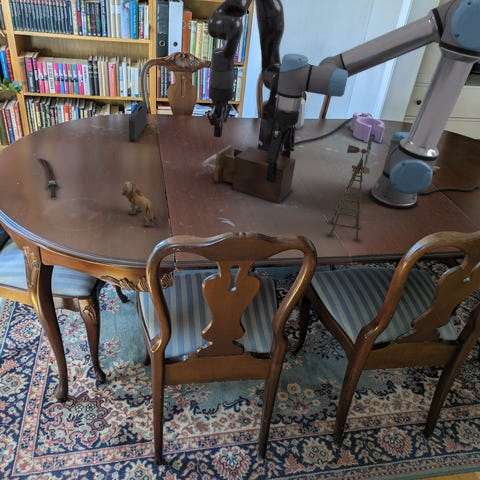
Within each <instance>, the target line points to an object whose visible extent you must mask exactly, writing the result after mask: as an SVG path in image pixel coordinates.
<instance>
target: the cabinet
mask: <svg viewBox="0 0 480 480" xmlns="http://www.w3.org/2000/svg"><path fill="white" fill-rule="evenodd" d="M267 155H268V152H267V151H263V150H260V149H257V148H256V147H252V146H248V148H245V149H244V151H243V152H241V153H240V154H238V155H237V156H236V157H235V166H234V177H233V183H232V187H231V188H232V190H234V191H237V192H241V193H244V194H247V195H250V196H254V197H257V198H259V199H263V200H267V201H270V202H273V203H276V204H280V203H281V201H282V200H283V199H284V198H286V196H287V195H288V194H289V193H290V192H291V190H292V185H293V178H294V173H295V167H296V158H293V157H290V158H289V157H286V156H282V154H280V155H279V157H278V160H277V163H278V164H277V171H276V178H275V182H274V183H272V182H269V181H266V178H267V171H268V164H269V163H267V162H266V159H267Z"/></svg>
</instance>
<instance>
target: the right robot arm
mask: <svg viewBox="0 0 480 480" xmlns="http://www.w3.org/2000/svg"><path fill="white" fill-rule="evenodd" d="M433 43H435V44H438V45H437V47H438V49H439V52H440V56H439V58H438V61H437V63H436V66H435V68H434V71H433V73H432V75H431V77H430V81H429V82H428V86H427V87H426V91H425V93H424V95H423V98H422V101H421V103H420V105H419V108H418V111H417V112H416V115H415V117H414V120H413V122H412V125H411V127H410V130H409V132H408V131H396V132H395V133H393V135H392V136H391V140H390V144H389V147H388V151H387V155H386V158H385V161H384V165H383V168H382V173H381V175H380V176H379V177H378V179H377V181H376V182H375V183H374V185H373V186H372V188H371V191H370V196H371V198H372V199H373V200H374V201H376V202H377V203H379V204H380V205H383V206H386V207H389V208H394V209H398V210H399V209H400V210H403V209H404V210H405V209H410V208H413V207H415V205H416V203H417V200H418V194H420V195H429V194H432V193H434V192H438V191H439V192H440V191H448V190H449V191H450V190H451V191H457V192H458V191H459V192H472V191H474V190H475V189H477V190H478V189H480V187H479V185H478V184H475V185H473V186H471V187H470V188H468V189H470V190H464V189H465V188H464V187H463V188H462V187H454V186H442V187H435V188H432V189H430V190H429V189H428V190H426V189H427V188H428V187H429V186H430V184H431V183H432V180H433V175H434V173H433V172H432V169H433V166H435V165H436V162H437V159H438V157H439V156H440V151H439V150H438V145H439V142H440V139H441V137H442V134H443V133H444V130H445V128H446V126H447V125H448V122H449V119H450V117H451V115H452V113H453V111H454V108H455V106H456V105H457V102H458V100H459V98H460V95H461V93H462V90H463V88H464V86H465V84H466V82H467V79H468V77H469V75H470V72H471V70H472V68H473V65H474V64H475V63H476V62H479V61H480V0H448V1H446V2H444V3H443V4H440V5H438V6H435V7H434V8H431V9H429V11H428V13H427V14H426V15H425V16H423V17H420V18H418V19H416V20H414V21H411V22H409V23H406V24H405V25H402V26H400V27H397V28H395V29H393V30H391V31H388V32H386V33H384V34H382V35H378V36H377V37H374V38H371V39H370V40H368V41H365V42H363V43H361V44H358V45H356V46H354V47H352V48H349V49H347V50H344V51H343V52H340V53H338V54H336V55H333V56H327V57H325V58H323V59H322V60H321V61H320V62H319V63H318V65H315V64H309V58H308V57H307V56H306V55H303V54H300V53H286V54H284V55H283V56H282V58H281V68H280V74H279V82H278V91H277V95H276V96H275V98H277V99H276V108H275V112H274V121H275V122H277V123H278V127H277V128H276V131H275V130H273V132H272V139H271V143H270V147H269V151H268V155H267V159H266V162H267V163H269V164H268V171H267V178H266V181H269V182H272V183H274V182H275V178H276V171H277V164H278V163H277V160H278V157H279V154H280V151H281V148H282V145H283V150H282V154H280V155H282V156H286V157H289V158H291V154H292V152H294V151H295V148H294V147H295V145H294V143H296V142H295V139H296V138H295V137H296V129H295V125H296V124H297V122H298V118H299V111H298V110H300V107H301V100H302V98H303V95H302V93H303V94H304V93H310V94H311V93H312V94H316V95H323V96H329V97H339V98H342V97H343V96H344V95H345V92H346V87H347V82H348V78H351V77H352V76H356V75H358V74H360V73H362V72H365V71H367V70H370V69H372V68H374V67H377V66H379V65H381V64H385V63H387V62H390V61H392V60H394V59H396V58H399V57H401V56H404V55H407V54H409V53H411V52H414V51H416V50H419V49H421V48H423V47H426V46H428V45H431V44H433ZM280 139H281V140H280ZM424 190H426V191H424Z"/></svg>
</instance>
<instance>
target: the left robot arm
mask: <svg viewBox="0 0 480 480" xmlns="http://www.w3.org/2000/svg"><path fill="white" fill-rule="evenodd" d="M252 2H253V0H224V1H222V2H221V3H220V5H219V6H218V7H217V8H215V9H214V10H213V12H212V13H211V15H210V16H209V18H208V21H207V25H206V29H207V33H208V35H209V37H211V38H212V39H215V40H220V41H225V45H224V47H216V48H214V49H213V50H212V52H211V61H210V62H211V65H210V71H209V72H210V73H209V87H208V98H209V99H210V100H211V106H210V109H211V110H210V112H208V111H207V113H206V117H207V119H208V121H209V123H210V126H214V127H213V129H214V130H213V136H214V137H215V138H221V137H222V136H223V126H225V125H224V124H225V123H227V121H228V118H229V115H230V113H231V110H232V105H230V104H229V102H231V101H232V100H233V94H234V93H233V92H234V81H235V75H234V69H235V57H236V53H237V50H238V47H239V45H240V41H241V38H242V35H243V32H244V25H243V21H242V19H241V18H243V17H244V16H245V15H246V14H247V12H248V10H249V8H250V7H251V4H252ZM254 3H255V15H256V24H257V31H258V37H259V38H258V39H259V47H260V56H261V82H262V85H263V86H264V87H265V88H266V89H267V90H269V97H268V99H265V100H263V102H262V105H261V114H260V123H259V131H258V138H257V148H256V149H260V150H263V151H267V152H268V151H269V147H270V143H271V139H272V132H273V130H275V131H276V128H277V127H278V123H277V122H275V121H274V112H275V108H276V99H277V98H275V96H276V95H277V91H278V82H279V74H280V68H281V63H282V60H281V53H280V52H281V51H280V47H281V42H282V39H283V36H284V33H285V26H286V25H285V12H284V5H283V3H282V0H254ZM365 113H366V112H365ZM366 114H369V115H371V117H372V118H373V116H372V114H370V113H368V112H367V113H366ZM357 115H358V116H360V117H361V116H362V114H357ZM350 121H352V117H350V118H348V119H346V120H345V121H344V122H342V123H341V124H340V125H339V126H338V127H336V128H335V129H334V130H331V131H330V132H328V133H326V134H323V135H321V136H316V137H313V138H308V139H304V140H299V141H296V142H294V146H296V145H298V144H302V143H308V142H312V141H316V140H320V139H322V138H325V137H328V136H331V135H332V134H334V133H336V131H338V130H340V128H342V127H343V126H345V124H347V123H349V122H350ZM280 140H281V139H280ZM283 150H284V145H282V148H281V151H280V154H279V155H282V151H283Z"/></svg>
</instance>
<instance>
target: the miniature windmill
mask: <svg viewBox="0 0 480 480" xmlns="http://www.w3.org/2000/svg"><path fill="white" fill-rule="evenodd" d="M372 144H373V135H372V134H370V136H369V140H368V142H367V145H366V148H362V149H361V148H359V147H358V146H355V145H351V144H348V146H347V151H346V154H358V153H361V158H360V159H359V161H358V163H357V164H356V165H355V164H352V165H351V172H352V173H351V178H350V179H349V181H348V184H347V185H346V187H345V189H344V192H343V193H342V196H341V199H340V200H339V203H338V205H336V210H335V211H333V215H332V218H331V219H330V223H331V224H332V227H331V229H330V232H329V236H332V235H333V234H334V230H335V228H336V226H338V227H343V228H347V229H348V228H349V229H354V230H355V241H358V240H359V231H360V230H361V228H360V217H361V216H360V215H361V198H362V196H363V195H362V193H363V192H362V185H363V182H364V180H363V174H367V175H369V174H371V171H370V168H369V167H367V165H368V161H369V158H370V157H369V155H371V152H370V151H371V149H372ZM364 155H365V157H364ZM356 178H359V179H356ZM355 182H357V183H359V186H358V187H353V184H354V183H355ZM351 190H357V191H358V194H356V193H350V192H351ZM348 196H354V197H358V198H357V200H354V199H348ZM346 202H351V203H357V207H356V209H354V208H348V207H344V206H345V204H346ZM343 210H347V211H351V212H356V215H354V214H349V213H343V212H342V211H343ZM341 215H342V216H347V217H353V218H356V219H355V226H351V225H345V224H340V223H338V220H339V218H340V216H341Z"/></svg>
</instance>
